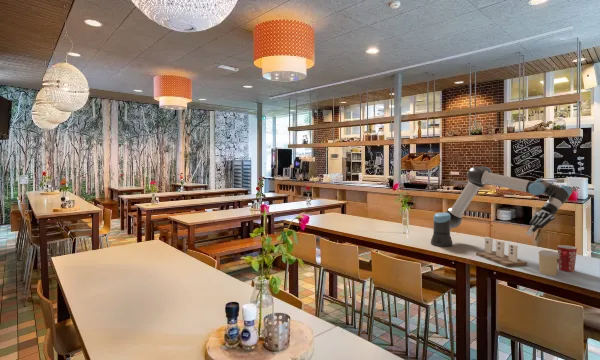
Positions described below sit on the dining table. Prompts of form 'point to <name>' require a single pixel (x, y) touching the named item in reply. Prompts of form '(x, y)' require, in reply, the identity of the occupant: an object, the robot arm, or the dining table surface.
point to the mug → (567, 258)
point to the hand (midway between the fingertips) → (527, 234)
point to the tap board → (500, 259)
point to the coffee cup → (548, 262)
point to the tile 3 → (512, 253)
